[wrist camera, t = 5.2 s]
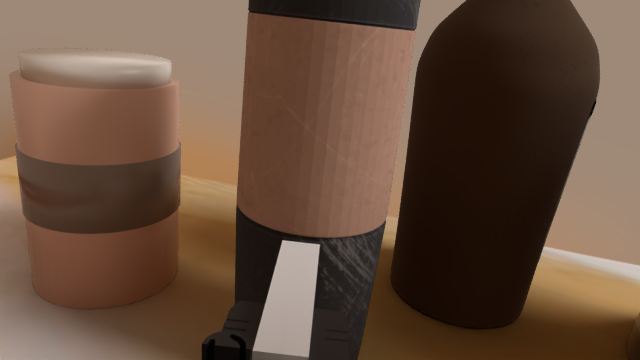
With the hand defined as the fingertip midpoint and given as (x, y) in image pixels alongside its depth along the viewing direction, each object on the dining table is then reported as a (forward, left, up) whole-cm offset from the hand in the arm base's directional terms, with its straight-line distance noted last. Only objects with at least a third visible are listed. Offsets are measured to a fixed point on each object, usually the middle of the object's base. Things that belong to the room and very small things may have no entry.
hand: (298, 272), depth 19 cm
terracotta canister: (+5, -16, -8) cm, 19 cm away
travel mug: (-3, -4, -8) cm, 10 cm away
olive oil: (-17, -5, -8) cm, 19 cm away
